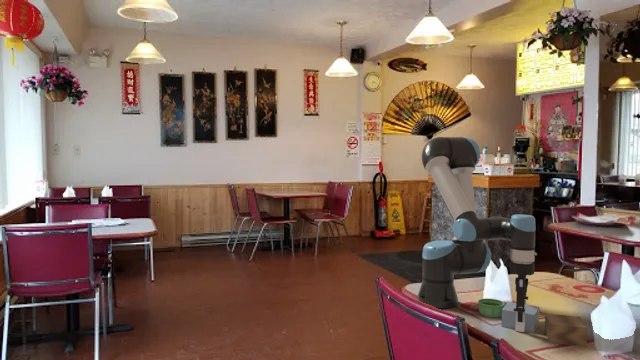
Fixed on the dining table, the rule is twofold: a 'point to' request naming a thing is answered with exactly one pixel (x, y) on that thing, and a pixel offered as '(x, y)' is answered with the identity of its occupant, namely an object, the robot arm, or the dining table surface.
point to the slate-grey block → (530, 317)
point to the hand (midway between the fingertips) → (520, 324)
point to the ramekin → (491, 307)
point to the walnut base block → (565, 329)
